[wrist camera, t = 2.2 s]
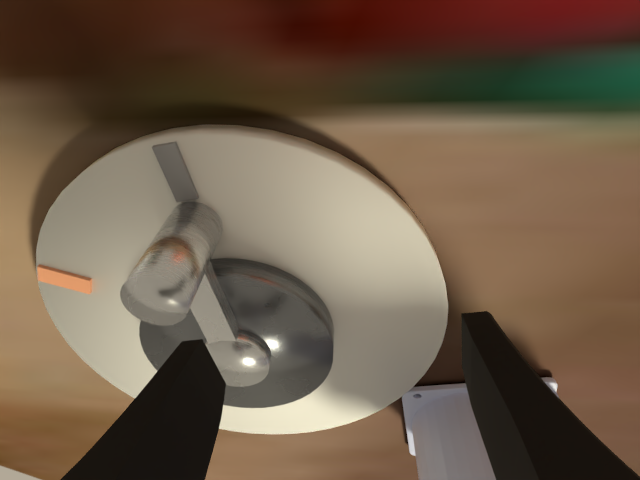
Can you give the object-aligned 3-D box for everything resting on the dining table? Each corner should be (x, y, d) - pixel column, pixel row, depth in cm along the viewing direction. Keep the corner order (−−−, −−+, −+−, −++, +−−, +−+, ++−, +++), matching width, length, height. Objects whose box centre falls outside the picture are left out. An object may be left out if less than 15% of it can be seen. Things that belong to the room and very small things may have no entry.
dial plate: (436, 79, 16) (442, 89, 15) (448, 408, 28) (452, 427, 27) (-44, 168, 19) (-69, 181, 18) (153, 426, 32) (146, 444, 31)
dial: (347, 379, 25) (347, 465, 21) (191, 391, 26) (162, 473, 22) (297, 184, 17) (282, 258, 13) (84, 217, 19) (11, 292, 15)
